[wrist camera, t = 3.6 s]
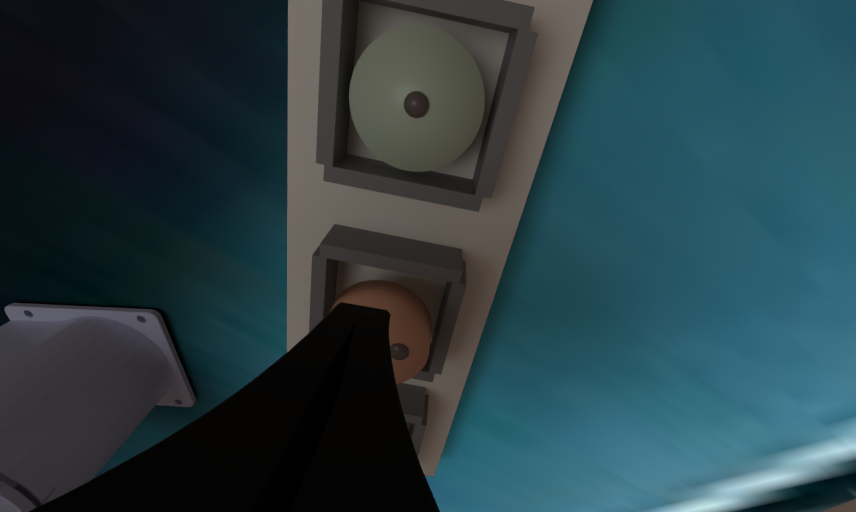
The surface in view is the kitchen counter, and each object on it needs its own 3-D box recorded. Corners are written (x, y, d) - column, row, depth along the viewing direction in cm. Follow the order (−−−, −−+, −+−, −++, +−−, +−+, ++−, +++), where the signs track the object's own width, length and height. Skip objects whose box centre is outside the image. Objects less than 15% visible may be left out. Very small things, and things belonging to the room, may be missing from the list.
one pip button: (465, 171, 14) (466, 183, 13) (354, 148, 14) (343, 158, 13) (495, 43, 12) (501, 41, 11) (366, 15, 12) (354, 9, 11)
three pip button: (421, 368, 17) (418, 395, 16) (328, 350, 17) (317, 377, 16) (440, 291, 15) (439, 314, 14) (334, 271, 15) (321, 292, 13)
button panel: (435, 449, 27) (432, 508, 23) (297, 424, 26) (273, 481, 23) (585, -26, 13) (633, -57, 10) (311, -88, 13) (257, -143, 9)
